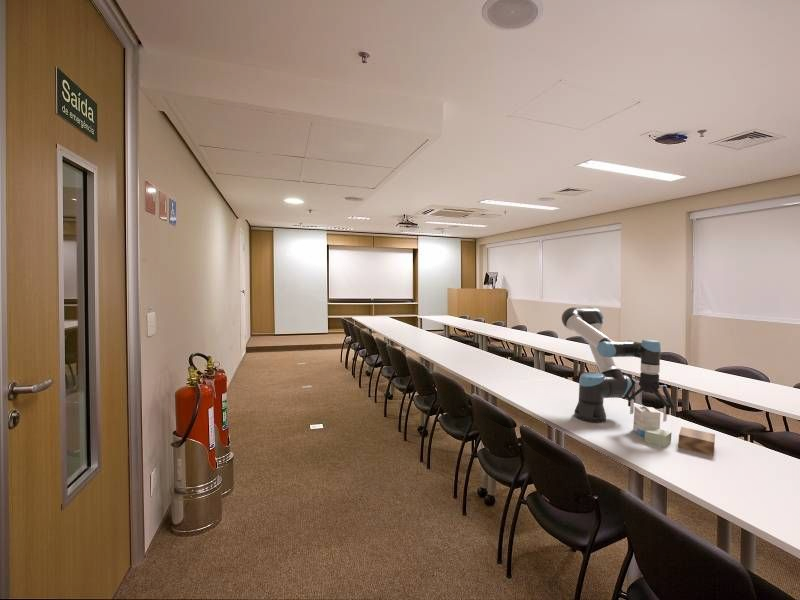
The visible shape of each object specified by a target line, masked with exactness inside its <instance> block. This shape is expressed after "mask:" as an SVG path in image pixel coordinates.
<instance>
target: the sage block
mask: <svg viewBox="0 0 800 600" xmlns="http://www.w3.org/2000/svg"><path fill="white" fill-rule="evenodd" d="M644 442H646V443H649V444H652V445H656V446H659V447H661V448H662V447H663V448H666V447H668V446H669V445H670V444H671V443H672V432H671V431H668V430H664V429H657V428H653V427H650V428H649V429H647V430H646V431H645V436H644Z"/></svg>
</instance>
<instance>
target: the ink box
mask: <svg viewBox="0 0 800 600" xmlns="http://www.w3.org/2000/svg"><path fill="white" fill-rule="evenodd" d="M640 405H641V406H640ZM640 405H639V406H636V405H634V411H633V428H632V429H633V430H634V432H636V433H637V434H638V435H639V436H641V437H645V431H646V430H647V429H649V428H650V427H653V428H657V429H660V428H661V412H660V411H659V410H657V409H656V408H654V407H652V406H651V407H650V406H645V405H644V404H642V403H640Z"/></svg>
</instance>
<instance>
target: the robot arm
mask: <svg viewBox="0 0 800 600" xmlns="http://www.w3.org/2000/svg"><path fill="white" fill-rule="evenodd" d="M561 322H562V325H563V326H564V327H565V328H566V329H567V330H569V331H574V332H575V333H576V334H577V335H579V336H580V337H582V339H584V340H585V341H586V342H587V343H588V345H589V348H590V351H591V353H592V356H593V358H594V361H595V363H596V366H597V369H598V371H599V372H597V371H596V372H593V371H587V372H584V373H582V374H581V375H580V376H579V381H578V384H579V385H578V401H577V404H576V406H575V409H574V415H573V416H574V417H575V418H576V419H579V420H581V421H584V422H589V423H596V424H597V423H605V422H606V421H607V414H606V410H605V407H604V399H613V398H616V399H619V398H620V399H621V398H625V399H627V406H628V407H629V408H630V409H629V414H630V415H634V407H635V400H634V398H635V397H636V396H638V395H639V394H640V393H641V392H644V393H649V394H654V395H656V397H657V398H658V399H659V400H660V402H661V403H662V404H663V405H664V407H663V415H662V422H664V423H665V422H667V420H668V418H667V416H669V415H670V411H671V408H674V407H675V406H676V404H675V402H674V400H673V399H672V397H671V394H670V393H669V390H668V386H667V385H666V384H664V385H663V384H662V385H660V374H659V373H660V368H661V367H660V366H661V363H660V362H661V361H660V360H661V351H662V350H661V342H660V341H659V340H656V339H655V340H654V339H642V341H641V342H640V341H634V340H623V341H622V340H621V341H615V340H613V339H611V338H609V337H608V336H607V335H605V334H604V333H602V328H603V324H604V315H603V313H602V312H601V311H600V310H599V309H598V308H595V307H590V306H589V307H568V308H567V309H565V310H564V311H563V313H562V315H561ZM617 357H618V358H621V357H622V358H623V357H624V358H625V357H626V358H628V357H629V358H632V357H634V358H639V359H640V375H639V376H640V377H639V380H636V379H634V380H631V378H630V377H629V376H628V375H626V374H623V372H622V370H621V368H618V367H617V366H616V363H615V361H614V359H613V358H617ZM638 385H639V387H640V388H639V389H637V390H636V391H635V392H634V393H633V394H631V393H632V392H633V391H634V388H635V387H636V386H638ZM659 389H660V390H661V391H663V394H664V396H665V397H666V399H665V397H664V396H663V395H662V393H661V392H660V390H659ZM630 394H631V395H630Z"/></svg>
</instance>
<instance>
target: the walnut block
mask: <svg viewBox="0 0 800 600" xmlns="http://www.w3.org/2000/svg"><path fill="white" fill-rule="evenodd" d="M678 433H679V434H678V443H677V444H678V445H677V447H678V448H679V449H684V450H687V451H691V450H692V452H695V451H696V453H699V452H700V453H701V454H704V455H708V456H711V457H714V455H715V454H714V453H715V442H716V441H715V440H716V434H715V433H711V432H706V431H702V430H696V429H692V428H689V427H688V428H687V427H684V426H681V427H680V430H679V432H678ZM700 453H699V454H700Z"/></svg>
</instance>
